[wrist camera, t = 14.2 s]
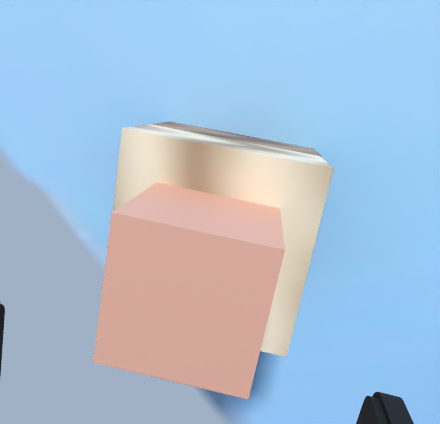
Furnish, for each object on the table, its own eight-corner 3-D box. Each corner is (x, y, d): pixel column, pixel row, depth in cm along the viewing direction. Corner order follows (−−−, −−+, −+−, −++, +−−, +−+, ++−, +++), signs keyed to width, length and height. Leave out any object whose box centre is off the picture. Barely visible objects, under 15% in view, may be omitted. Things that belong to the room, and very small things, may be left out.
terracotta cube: (279, 207, 19) (285, 249, 14) (253, 319, 21) (248, 399, 15) (156, 182, 20) (111, 212, 14) (140, 293, 21) (93, 362, 16)
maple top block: (320, 155, 24) (333, 168, 19) (282, 311, 26) (286, 356, 21) (151, 124, 24) (122, 128, 19) (131, 278, 27) (101, 316, 22)
